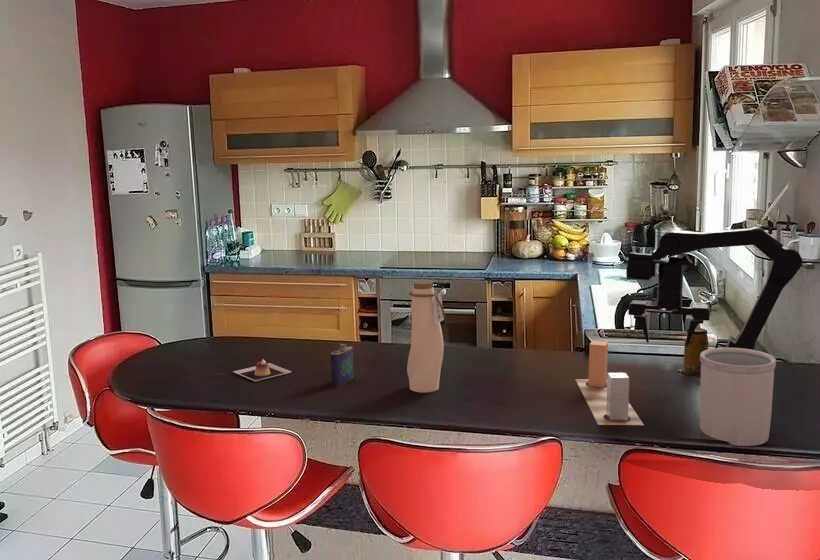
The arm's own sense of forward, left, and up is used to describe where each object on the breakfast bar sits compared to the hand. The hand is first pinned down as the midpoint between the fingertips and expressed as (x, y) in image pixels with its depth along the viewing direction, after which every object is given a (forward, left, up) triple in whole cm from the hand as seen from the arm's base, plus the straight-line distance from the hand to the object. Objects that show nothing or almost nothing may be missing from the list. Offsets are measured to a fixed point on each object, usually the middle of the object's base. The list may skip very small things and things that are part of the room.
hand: (667, 343), depth 185 cm
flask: (+18, +81, -13) cm, 84 cm away
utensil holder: (-27, -4, -13) cm, 30 cm away
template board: (-5, +16, -13) cm, 22 cm away
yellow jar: (+17, -16, -13) cm, 27 cm away
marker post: (+7, +15, -12) cm, 21 cm away
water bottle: (+11, +59, -13) cm, 61 cm away
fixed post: (-17, +18, -12) cm, 28 cm away
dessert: (+28, +104, -14) cm, 109 cm away
